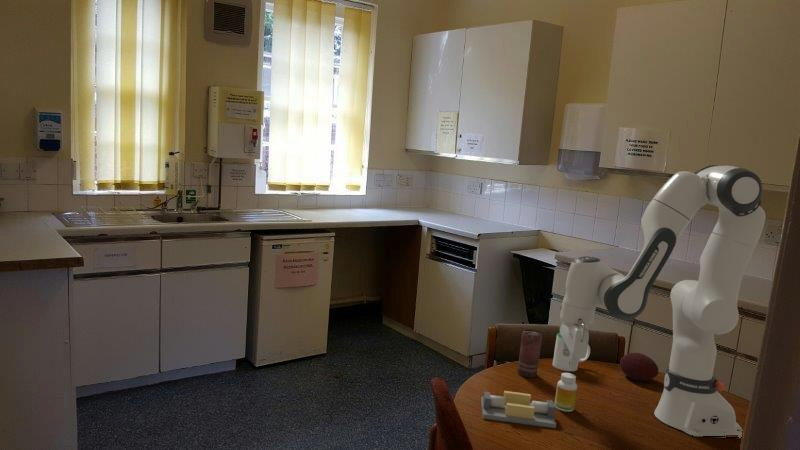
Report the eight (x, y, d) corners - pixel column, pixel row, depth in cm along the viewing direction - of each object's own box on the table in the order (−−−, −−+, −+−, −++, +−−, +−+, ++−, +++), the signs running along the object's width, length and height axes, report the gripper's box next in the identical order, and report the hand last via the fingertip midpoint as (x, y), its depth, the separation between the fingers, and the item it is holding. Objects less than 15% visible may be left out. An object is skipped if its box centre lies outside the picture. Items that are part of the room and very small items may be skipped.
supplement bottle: (574, 413, 168) (579, 380, 167) (554, 410, 169) (559, 377, 168) (573, 405, 174) (577, 373, 172) (553, 402, 175) (558, 370, 173)
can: (513, 370, 196) (518, 328, 194) (530, 370, 198) (536, 328, 196) (522, 378, 190) (528, 335, 188) (540, 377, 192) (546, 335, 190)
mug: (580, 362, 210) (584, 333, 208) (592, 371, 202) (597, 341, 200) (548, 361, 207) (552, 332, 205) (559, 371, 199) (563, 340, 198)
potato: (614, 369, 206) (617, 346, 205) (647, 373, 206) (651, 349, 204) (625, 383, 194) (629, 358, 193) (660, 387, 194) (664, 362, 193)
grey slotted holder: (549, 409, 169) (551, 395, 169) (555, 428, 159) (557, 413, 158) (481, 400, 171) (482, 386, 170) (482, 418, 160) (484, 403, 159)
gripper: (597, 327, 157) (588, 378, 159) (581, 306, 177) (573, 351, 179) (572, 324, 157) (564, 374, 159) (559, 302, 178) (551, 347, 180)
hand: (568, 361), depth 170 cm, fingers open, 8 cm apart
